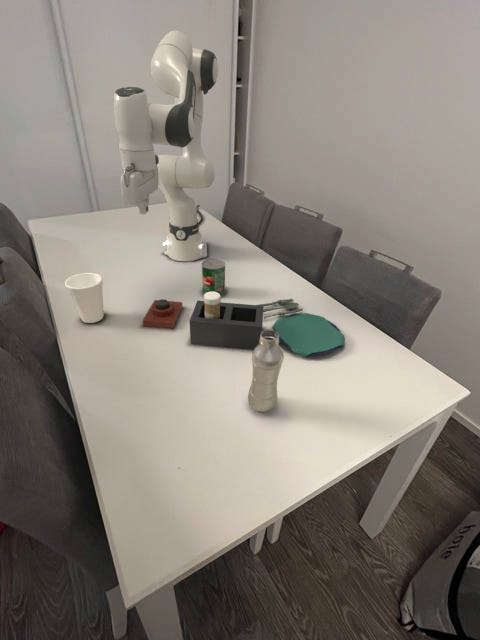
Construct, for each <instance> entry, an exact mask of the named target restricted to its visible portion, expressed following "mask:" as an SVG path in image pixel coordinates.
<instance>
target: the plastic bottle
mask: <svg viewBox="0 0 480 640" xmlns="http://www.w3.org/2000/svg"><path fill="white" fill-rule="evenodd" d="M259 342H260V343H259V344H258V345H257V346H256V347H255V348H254V350H252V353H251V362H252V363H251V364H252V379H251V384H250V387H249V390H248V393H247V400H248V404H249V406H250V407H251V408H252V409H253V410H255V411H257V412H259V413H260V412H261V413H265V412H269V411H270V410H272V409H274V408H275V406H276V404H277V402H278V398H279V397H278V381H279V375H280V371H281V368H282V365H283V362H284V358H285V355H284V351H283V349H282V348H281V347H280V341H279V334H278V333H277V332H276V331H275V329H265V330H264V329H263V330H262V332H261V334H260V340H259Z"/></svg>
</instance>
